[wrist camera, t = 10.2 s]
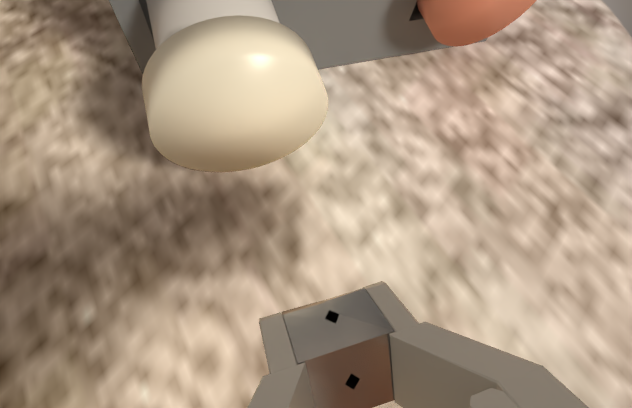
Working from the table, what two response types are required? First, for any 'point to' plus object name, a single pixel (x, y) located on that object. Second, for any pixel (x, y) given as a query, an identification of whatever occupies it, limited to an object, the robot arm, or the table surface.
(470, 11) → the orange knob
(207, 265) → the table surface
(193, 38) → the cream knob
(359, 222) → the table surface
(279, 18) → the mount
